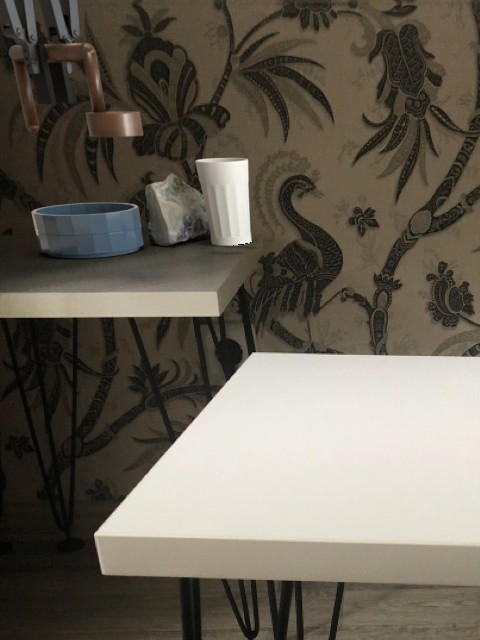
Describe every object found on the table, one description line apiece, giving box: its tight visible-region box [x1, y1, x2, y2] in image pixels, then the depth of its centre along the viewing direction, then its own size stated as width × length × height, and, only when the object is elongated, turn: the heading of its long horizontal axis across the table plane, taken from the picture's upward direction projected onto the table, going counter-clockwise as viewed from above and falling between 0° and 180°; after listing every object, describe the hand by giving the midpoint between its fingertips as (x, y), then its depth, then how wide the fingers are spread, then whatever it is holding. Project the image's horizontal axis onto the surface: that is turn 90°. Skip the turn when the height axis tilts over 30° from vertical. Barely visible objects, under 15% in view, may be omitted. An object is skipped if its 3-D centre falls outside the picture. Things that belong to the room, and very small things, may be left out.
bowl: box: [31, 202, 145, 259], centre depth 140 cm, size 15×15×6 cm
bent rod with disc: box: [8, 42, 144, 138], centre depth 115 cm, size 21×6×10 cm, turn 56°
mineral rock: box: [144, 172, 210, 247], centre depth 147 cm, size 13×11×10 cm
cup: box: [194, 157, 253, 247], centre depth 144 cm, size 8×8×12 cm
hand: (56, 103), depth 118 cm, fingers closed on bent rod with disc, 2 cm apart
